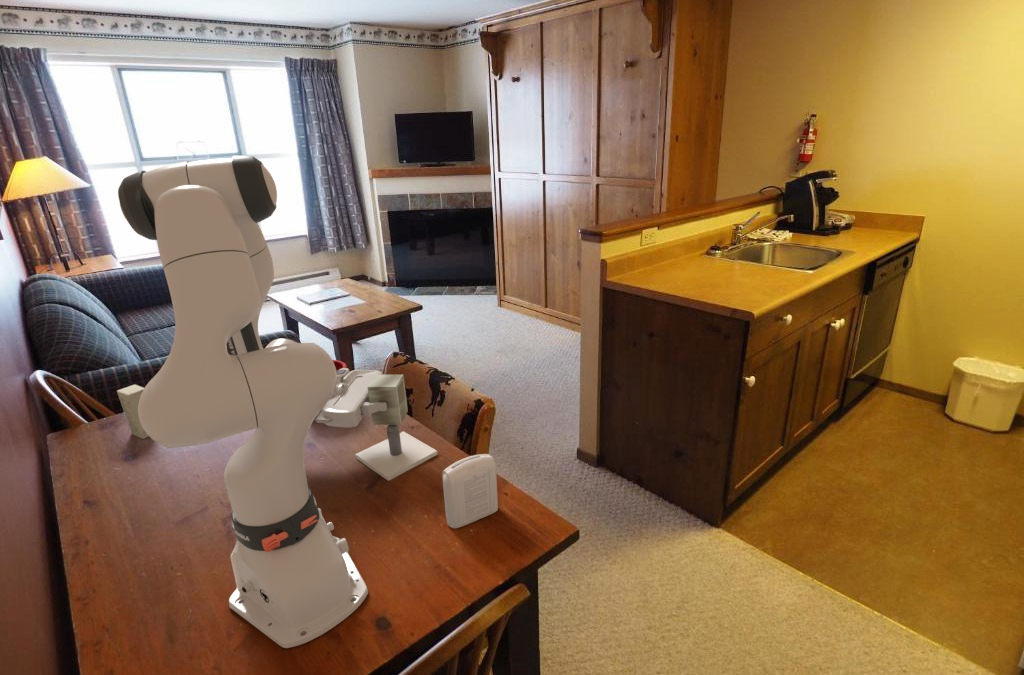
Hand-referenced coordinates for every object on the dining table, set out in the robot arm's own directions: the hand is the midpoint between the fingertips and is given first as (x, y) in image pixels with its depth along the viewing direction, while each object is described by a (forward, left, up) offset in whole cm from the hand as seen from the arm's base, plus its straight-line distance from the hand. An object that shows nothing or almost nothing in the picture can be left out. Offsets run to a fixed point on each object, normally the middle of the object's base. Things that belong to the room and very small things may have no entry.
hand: (392, 397), depth 116 cm
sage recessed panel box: (+1, +1, -5) cm, 5 cm away
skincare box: (+58, +37, -15) cm, 71 cm away
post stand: (0, +1, -15) cm, 15 cm away
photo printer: (-28, +3, -15) cm, 31 cm away
